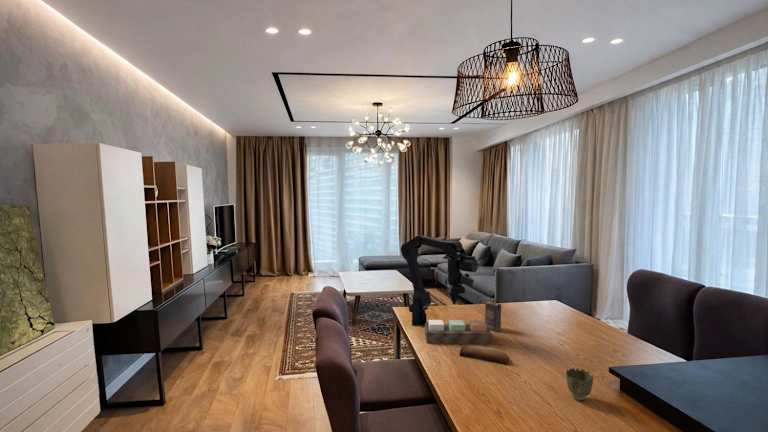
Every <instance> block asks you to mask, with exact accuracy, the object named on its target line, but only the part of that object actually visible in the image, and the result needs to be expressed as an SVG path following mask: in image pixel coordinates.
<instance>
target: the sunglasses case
mask: <svg viewBox="0 0 768 432" xmlns="http://www.w3.org/2000/svg"><path fill="white" fill-rule="evenodd" d="M459 356H463V357H464V356H465V357H470V358H471V357H472V358H479V359H485V360H491V361H494V362H501V363H504V364H505V363H506V364H507V365H509V361H510V356H509V355H507V353H506V352H504V351H502V350H500V349H497V348H492V347H486V346H481V345H465V346H464V345H463V346H462V347H460V351H459Z"/></svg>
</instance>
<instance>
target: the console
mask: <svg viewBox="0 0 768 432" xmlns="http://www.w3.org/2000/svg"><path fill="white" fill-rule="evenodd" d="M443 324H444V331H429V329H428V327H429V322H428V323H427V322H426V323H425V325H424V335H425V340H426V344H471V345H472V344H474V345H475V344H479V345H482V344H483V345H491V344H492V332H491V331H490V329H488V327H487V331H471V329H470V323H465V331H450V329H449V323H443Z"/></svg>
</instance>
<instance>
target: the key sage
mask: <svg viewBox="0 0 768 432" xmlns="http://www.w3.org/2000/svg"><path fill="white" fill-rule="evenodd" d="M448 324H449V329H450V331H465V324H466V323H465V322H464V320H463V319H449V320H448Z"/></svg>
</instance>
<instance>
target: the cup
mask: <svg viewBox="0 0 768 432" xmlns="http://www.w3.org/2000/svg"><path fill="white" fill-rule="evenodd" d="M565 374H566V377H565V378H566V384H567V388H568V390H569V392H570V393H571V396H572V398H573V399H574V400H575V399H576V400H575V401H578V400H579V401H578V402H584V401H585V400H586V399H587V398H586V397H588V396H589V395H590V394H591V392H592V390H593V389H592V388H593V384H594V378H595V376H594V374H590V371H586V370H585V369H583V368H581V369H579V368H576V369H575V368H573V367H572V368H571V367H570V368H569V370H568V369H566V370H565Z"/></svg>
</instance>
